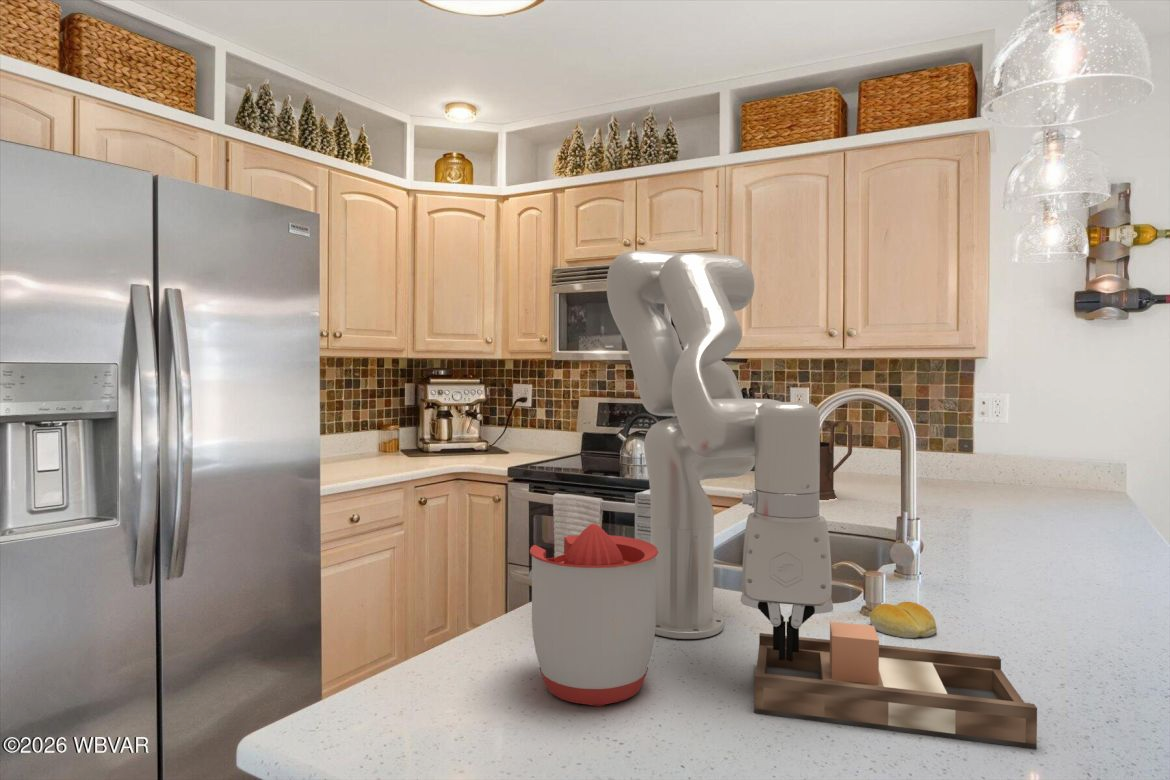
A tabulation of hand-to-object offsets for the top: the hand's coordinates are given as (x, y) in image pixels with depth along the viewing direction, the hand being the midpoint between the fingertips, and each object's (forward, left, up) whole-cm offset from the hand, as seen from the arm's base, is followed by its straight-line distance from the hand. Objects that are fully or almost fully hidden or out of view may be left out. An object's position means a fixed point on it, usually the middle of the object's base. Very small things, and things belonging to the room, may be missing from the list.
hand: (785, 656), depth 86 cm
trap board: (+11, 0, -4) cm, 11 cm away
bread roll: (+17, +27, -5) cm, 32 cm away
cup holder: (+8, +144, -4) cm, 144 cm away
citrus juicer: (-23, -5, -4) cm, 24 cm away
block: (+8, 0, -1) cm, 8 cm away
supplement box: (-21, +41, -4) cm, 46 cm away
